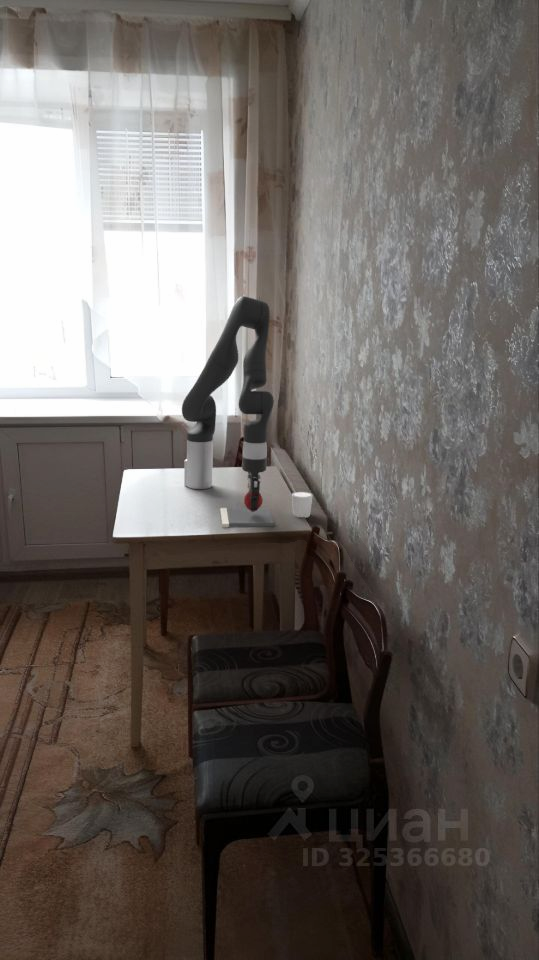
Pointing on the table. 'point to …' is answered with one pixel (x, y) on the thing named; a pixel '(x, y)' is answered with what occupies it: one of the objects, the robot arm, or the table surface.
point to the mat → (246, 517)
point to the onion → (248, 500)
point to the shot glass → (301, 503)
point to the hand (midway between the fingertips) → (253, 506)
